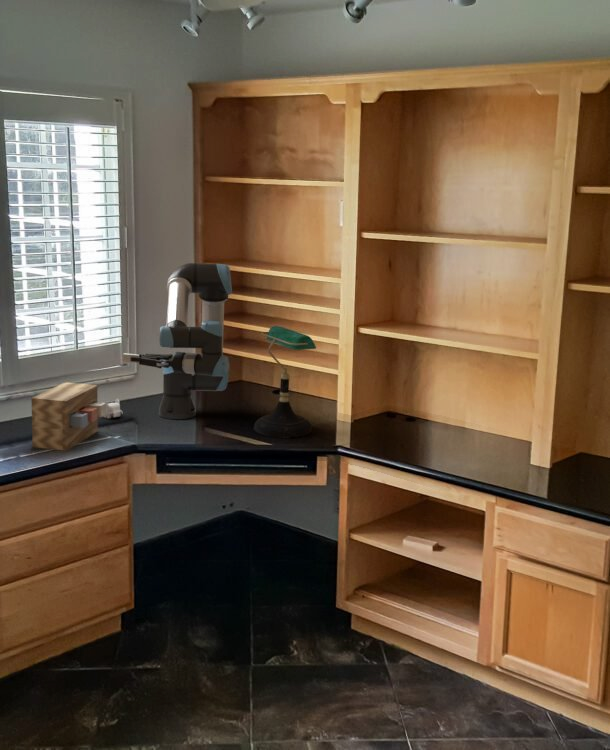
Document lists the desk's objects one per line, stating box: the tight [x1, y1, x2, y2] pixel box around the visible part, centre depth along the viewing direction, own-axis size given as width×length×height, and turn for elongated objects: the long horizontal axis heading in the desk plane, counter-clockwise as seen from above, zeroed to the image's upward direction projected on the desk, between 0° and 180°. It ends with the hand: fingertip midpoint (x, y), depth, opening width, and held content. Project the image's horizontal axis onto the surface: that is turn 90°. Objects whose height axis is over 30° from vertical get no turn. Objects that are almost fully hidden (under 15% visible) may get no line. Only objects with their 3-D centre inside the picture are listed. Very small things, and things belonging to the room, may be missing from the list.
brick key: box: [79, 408, 97, 423], centre depth 320 cm, size 12×4×4 cm, turn 79°
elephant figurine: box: [101, 398, 124, 420], centre depth 353 cm, size 8×10×7 cm
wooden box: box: [31, 381, 99, 452], centre depth 321 cm, size 13×26×18 cm, turn 169°
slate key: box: [69, 413, 88, 429], centre depth 312 cm, size 12×4×4 cm, turn 79°
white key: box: [89, 402, 107, 418], centre depth 327 cm, size 12×4×4 cm, turn 79°
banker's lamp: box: [253, 325, 317, 439], centre depth 343 cm, size 26×23×40 cm
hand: (123, 357), depth 319 cm, fingers closed
